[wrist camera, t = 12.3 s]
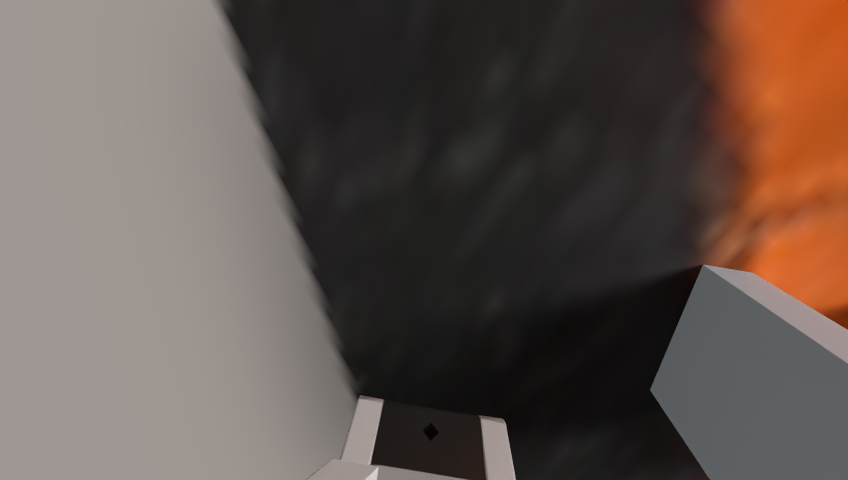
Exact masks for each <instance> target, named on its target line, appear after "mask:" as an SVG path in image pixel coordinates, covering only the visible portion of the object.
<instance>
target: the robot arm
mask: <svg viewBox="0 0 848 480" xmlns="http://www.w3.org/2000/svg"><path fill="white" fill-rule="evenodd" d="M306 480H516V479H515V473H514V468H513V462H512V456H511V451H510V445H509V439H508V434H507V428H506V423H505V421H504V420H503V419H501V418H494V417H487V416H481V415H479V416H477V415H471V414H465V413H458V412H452V411H446V410H439V409H433V408H428V407H422V406H417V405H412V404H407V403H401V402H396V401H391V400H386V399H385V401H384V400H383V399H378V398H373V397H367V396H362V395H360V397H359V399H358V401H357V404H356V407H355V411H354V414H353V417H352V420H351V424H350V427H349V430H348V434H347V437H346V440H345V444H344V447H343V450H342V454H341V457H340V460H337V459H331V460H330V461H328V462H327V463H326V464H325V465H323V466H322V467H321V468H320V469H318V470H317V471H316V472H315V473H313V474H312V475H311V476H310V477H308V478H307V479H306Z"/></svg>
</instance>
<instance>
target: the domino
mask: <svg viewBox="0 0 848 480" xmlns="http://www.w3.org/2000/svg"><path fill="white" fill-rule="evenodd" d="M650 391H651V392H652V394H653V395H654V397H655V398H656V400H657V401H658V403H659V404H660V406H661V407H662V409H663V410H664V412H665V413H666V415H667V416H668V418H669V419H670V421H671V422H672V424H673V425H674V427H675V428H676V430H677V431H678V433H679V434H680V436H681V437H682V438H683V440H684V441H685V443H686V444H687V446H688V447H689V449H690V450H691V452H692V453H693V455H694V456H695V458H696V459H697V461H698V462H699V464H700V465H701V467H702V468H703V470H704V471H705V473H706V474H707V476H708V477H709V479H710V480H848V330H847V329H846V328H844V327H842V326H841V325H839V324H837V323H836V322H834V321H832V320H830V319H829V318H827V317H825V316H824V315H822V314H820V313H819V312H817V311H815V310H814V309H812V308H810V307H809V306H807V305H805V304H804V303H802V302H800V301H799V300H797V299H795V298H794V297H792V296H790V295H789V294H787V293H785V292H784V291H782V290H780V289H779V288H777V287H775V286H774V285H772V284H770V283H769V282H767V281H765V280H764V279H762V278H760V277H759V276H757V275H755V274H754V273H751V272H745V271H739V270H733V269H727V268H721V267H715V266H709V265H703V266H702V268H701V271H700V273H699V275H698V278H697V280H696V282H695V285H694V287H693V289H692V292H691V294H690V297H689V299H688V301H687V304H686V306H685V308H684V311H683V313H682V315H681V318H680V320H679V323H678V325H677V327H676V330H675V332H674V334H673V337H672V339H671V341H670V344H669V346H668V349H667V351H666V353H665V356H664V358H663V360H662V363H661V365H660V368H659V370H658V372H657V375H656V377H655V379H654V382H653V384H652V386H651V389H650Z"/></svg>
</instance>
